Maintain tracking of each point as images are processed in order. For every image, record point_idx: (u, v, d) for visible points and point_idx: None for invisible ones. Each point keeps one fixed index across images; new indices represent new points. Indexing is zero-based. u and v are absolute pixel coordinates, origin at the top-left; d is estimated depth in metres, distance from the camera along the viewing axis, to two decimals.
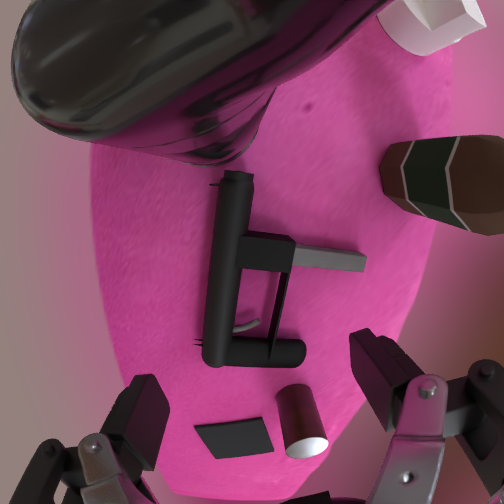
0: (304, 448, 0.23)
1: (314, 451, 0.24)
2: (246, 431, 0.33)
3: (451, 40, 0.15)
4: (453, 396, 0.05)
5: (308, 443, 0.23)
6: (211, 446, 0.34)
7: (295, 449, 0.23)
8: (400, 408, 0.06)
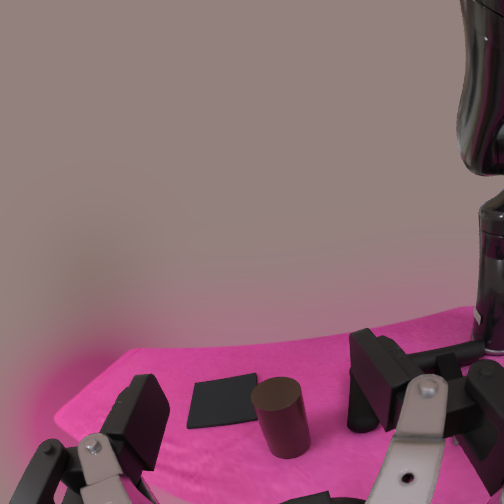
0: (278, 389, 0.23)
1: (264, 400, 0.22)
2: (241, 406, 0.32)
3: None
4: (453, 396, 0.05)
5: (288, 391, 0.23)
6: (221, 381, 0.39)
7: (279, 383, 0.24)
8: (400, 408, 0.06)
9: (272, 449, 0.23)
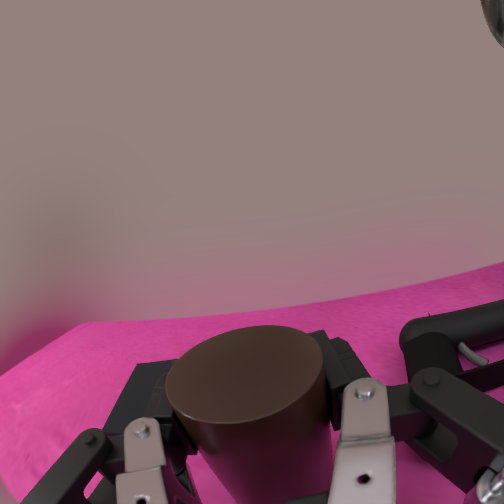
0: (249, 356, 0.08)
1: (201, 385, 0.07)
2: None
3: None
4: (395, 401, 0.06)
5: (280, 359, 0.07)
6: None
7: (255, 340, 0.09)
8: (341, 408, 0.07)
9: None
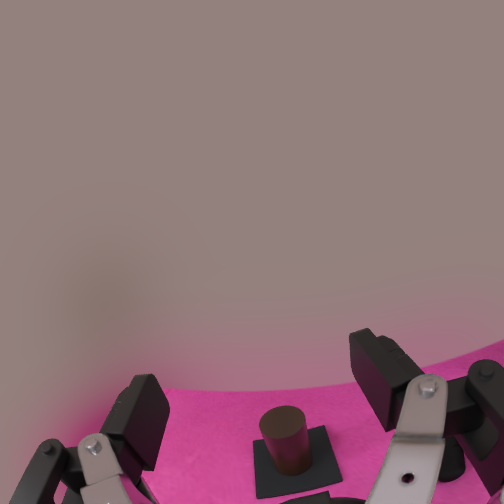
0: (284, 418, 0.24)
1: (271, 428, 0.23)
2: (317, 468, 0.24)
3: None
4: (453, 396, 0.05)
5: (293, 419, 0.24)
6: None
7: (285, 412, 0.25)
8: (400, 408, 0.06)
9: (277, 468, 0.24)
